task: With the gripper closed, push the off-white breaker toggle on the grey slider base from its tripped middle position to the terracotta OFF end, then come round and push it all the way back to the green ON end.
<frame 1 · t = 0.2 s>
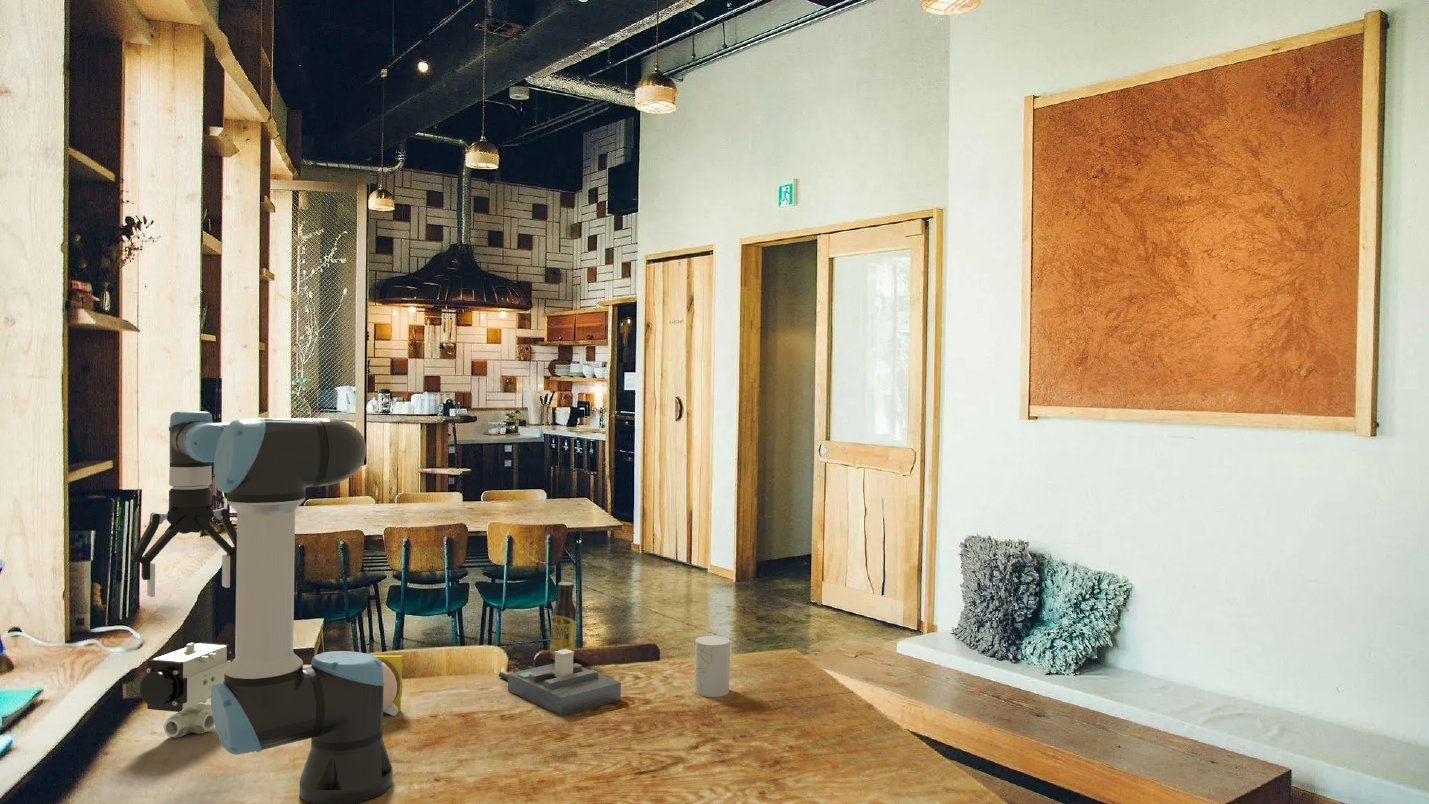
hand: (189, 591, 186), 28 cm above the table, fingers open, 13 cm apart
ball valve: (192, 732, 184), on the table
grey slider base: (563, 695, 210), on the table
white cylinder: (711, 692, 215), on the table
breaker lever: (564, 664, 210), point 7 cm above the table, slide at 0.0 cm
yellow block with disc: (370, 714, 196), on the table
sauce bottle: (562, 659, 238), on the table
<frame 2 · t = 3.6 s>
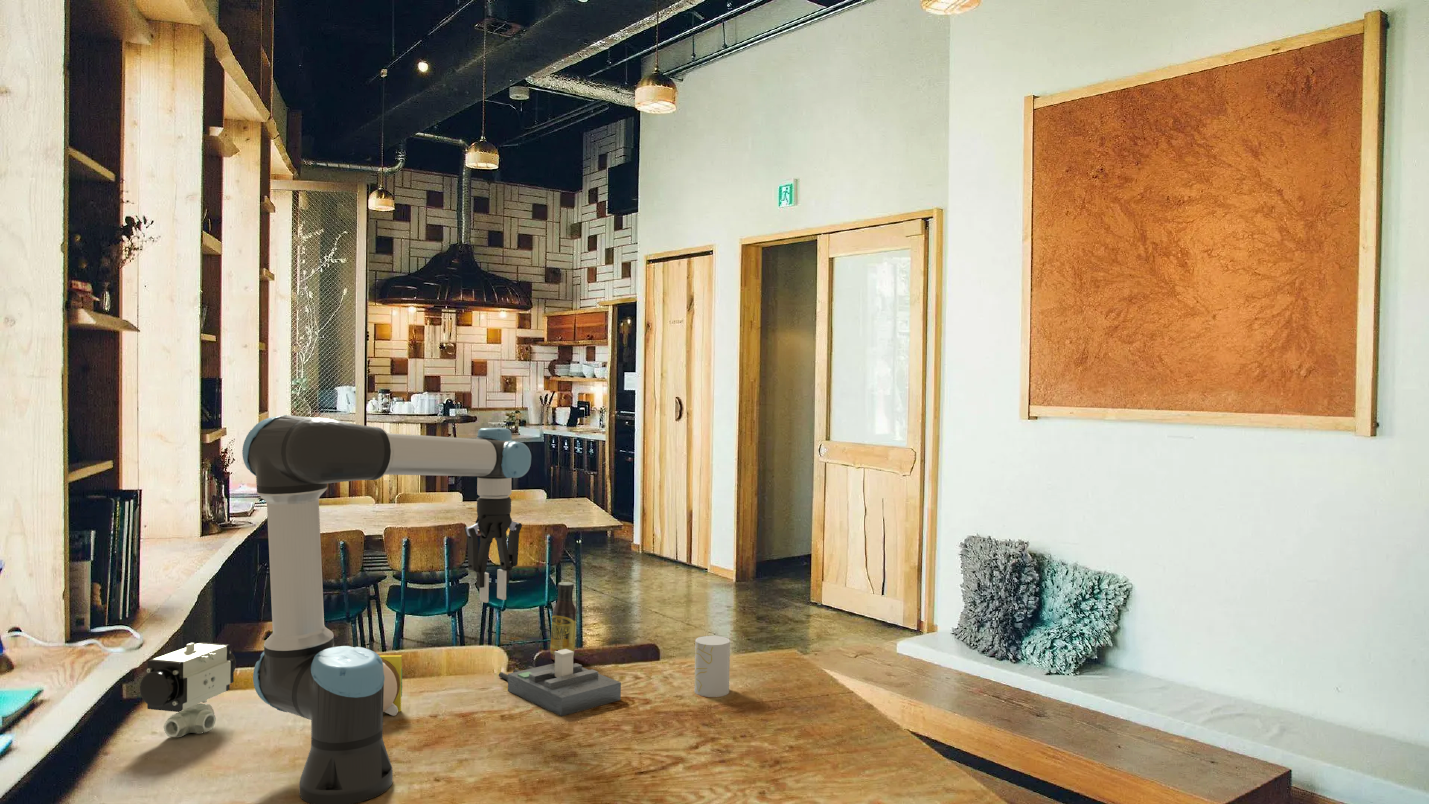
hand: (492, 599, 206), 23 cm above the table, fingers open, 4 cm apart
nothing on the table moved.
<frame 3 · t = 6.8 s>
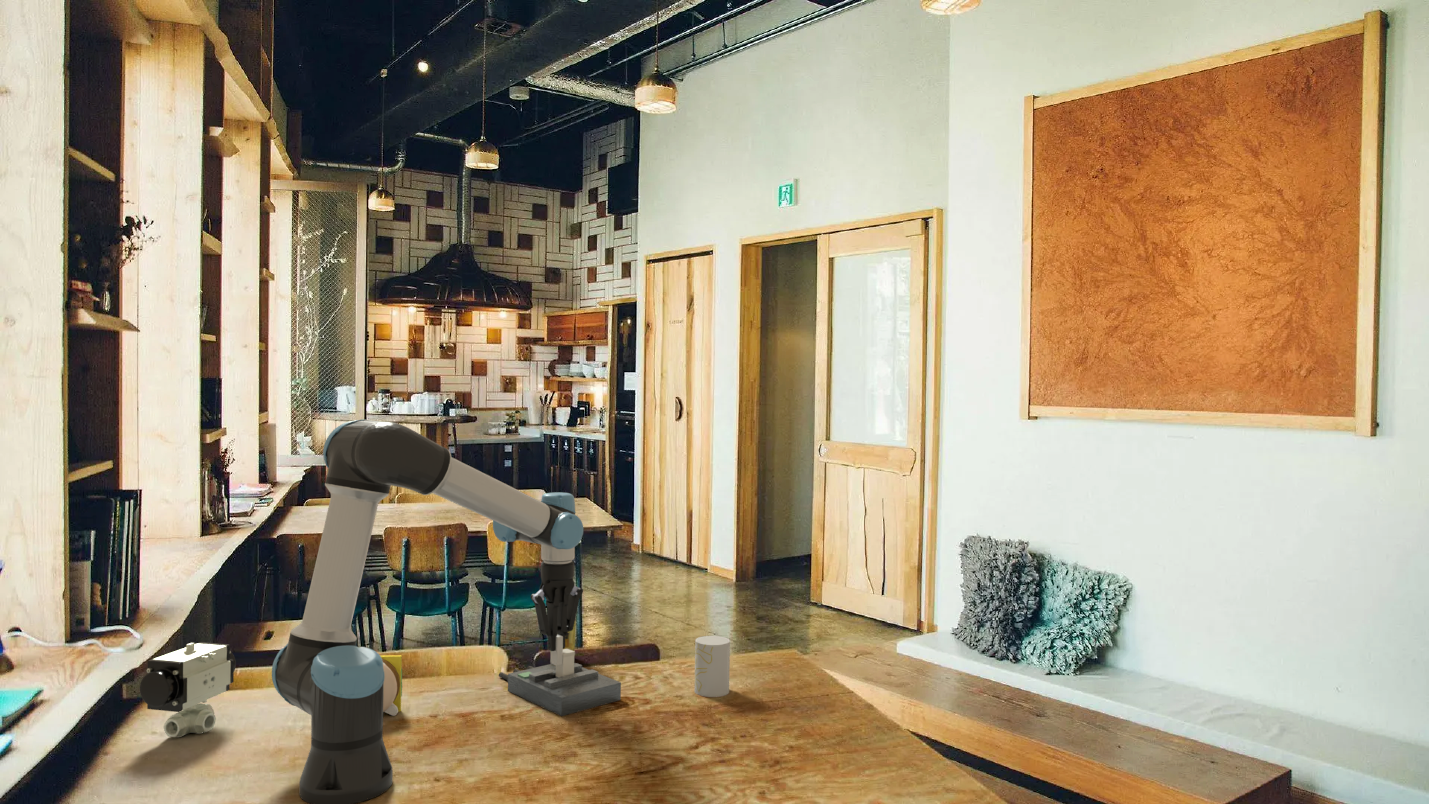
hand: (556, 663, 208), 8 cm above the table, fingers closed
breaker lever: (564, 663, 210), point 7 cm above the table, slide at -0.3 cm, touching gripper
everything else where it was.
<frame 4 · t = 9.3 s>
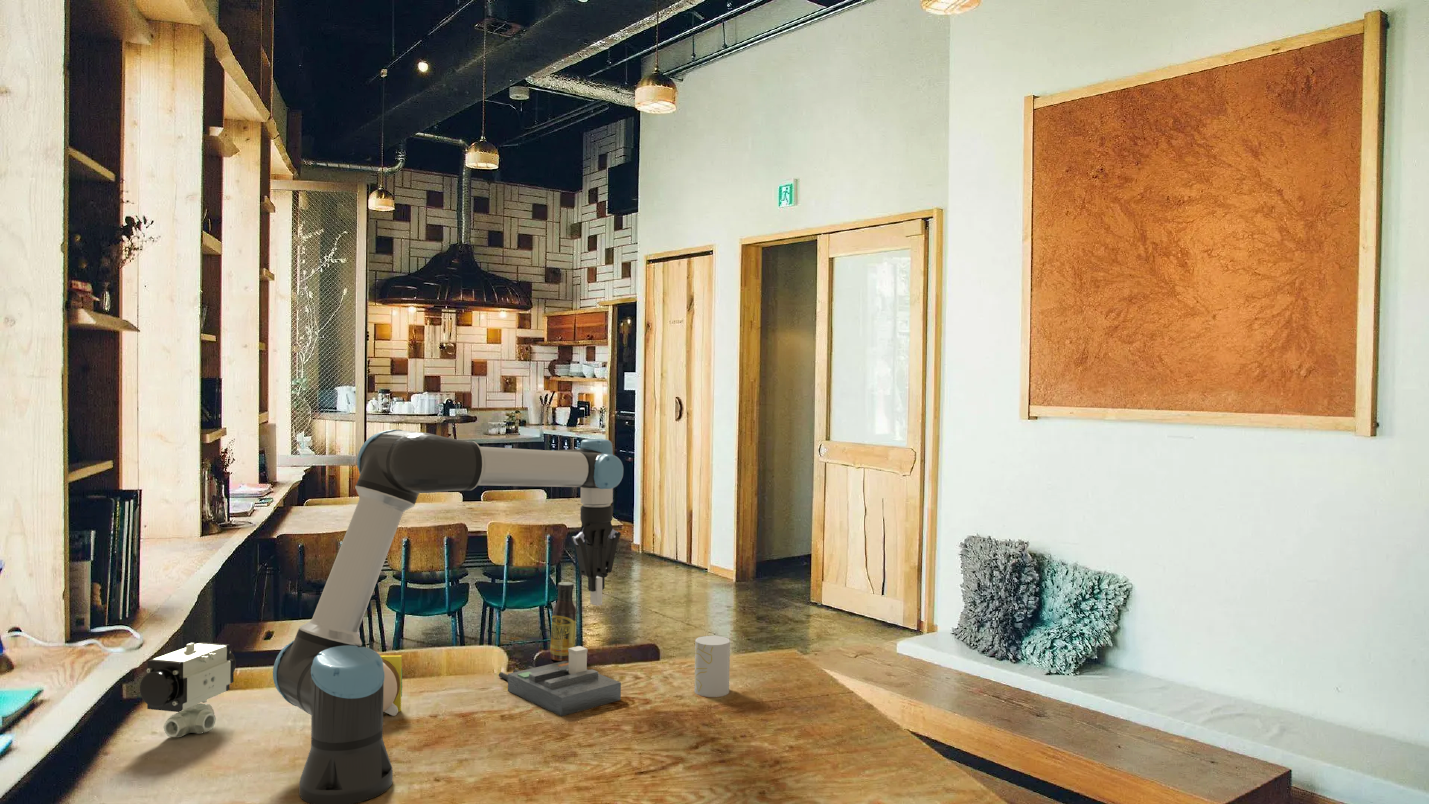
hand: (596, 604, 216), 20 cm above the table, fingers closed
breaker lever: (577, 661, 212), point 7 cm above the table, slide at -3.8 cm
everything else where it was.
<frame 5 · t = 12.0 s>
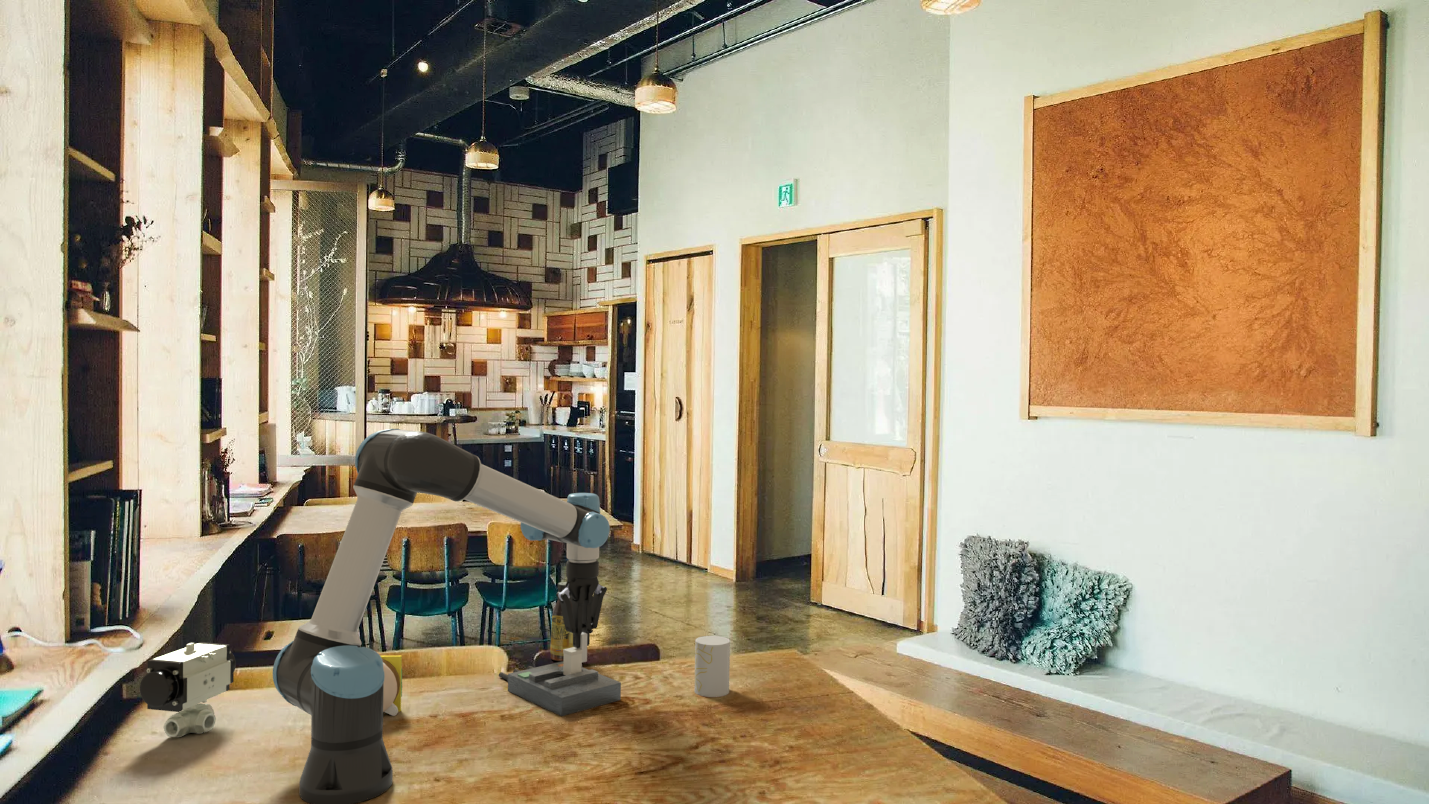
hand: (580, 660, 213), 7 cm above the table, fingers closed
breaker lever: (572, 662, 211), point 7 cm above the table, slide at -2.4 cm, touching gripper
everything else where it was.
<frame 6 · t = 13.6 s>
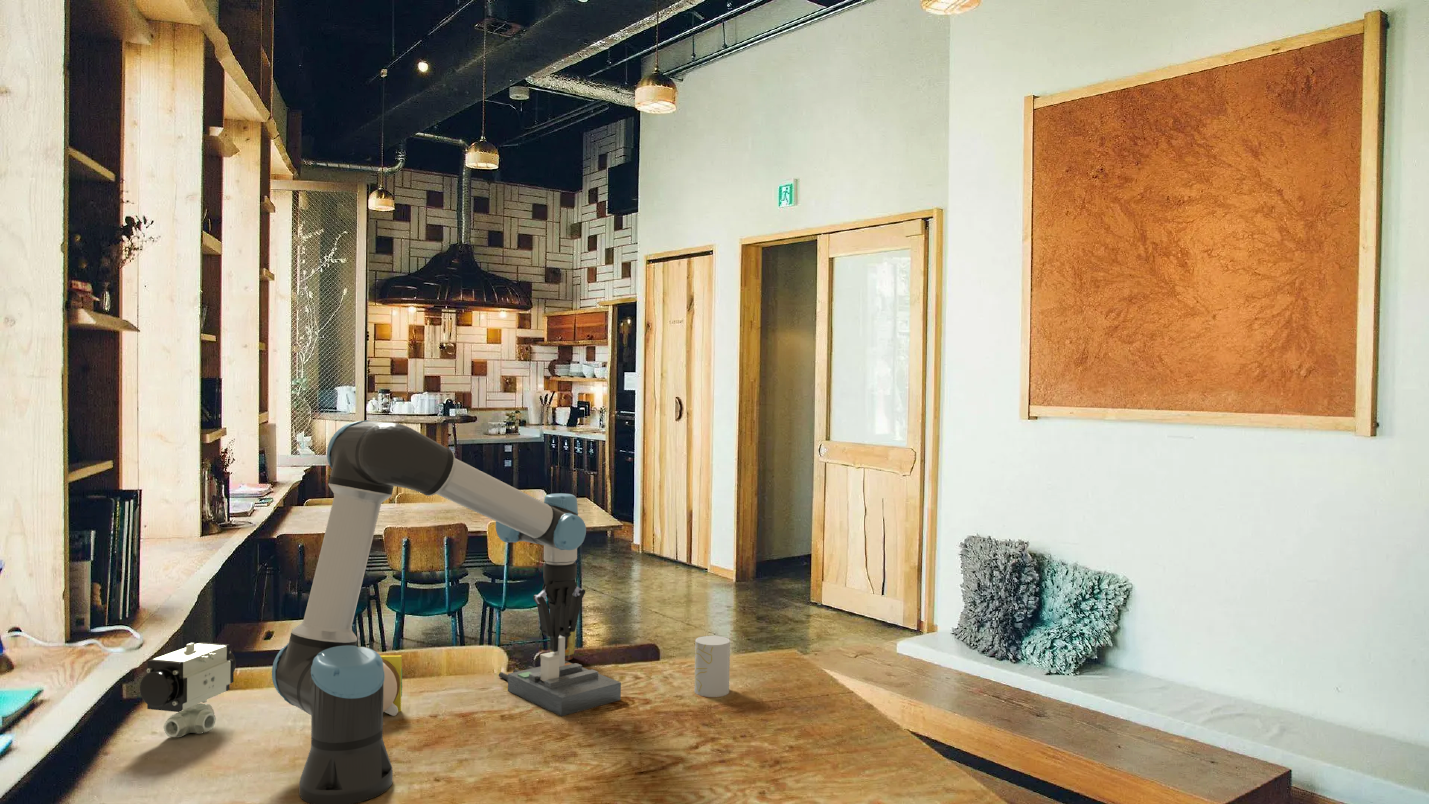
hand: (558, 664, 209), 7 cm above the table, fingers closed
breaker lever: (549, 667, 207), point 7 cm above the table, slide at 3.8 cm, touching gripper
everything else where it was.
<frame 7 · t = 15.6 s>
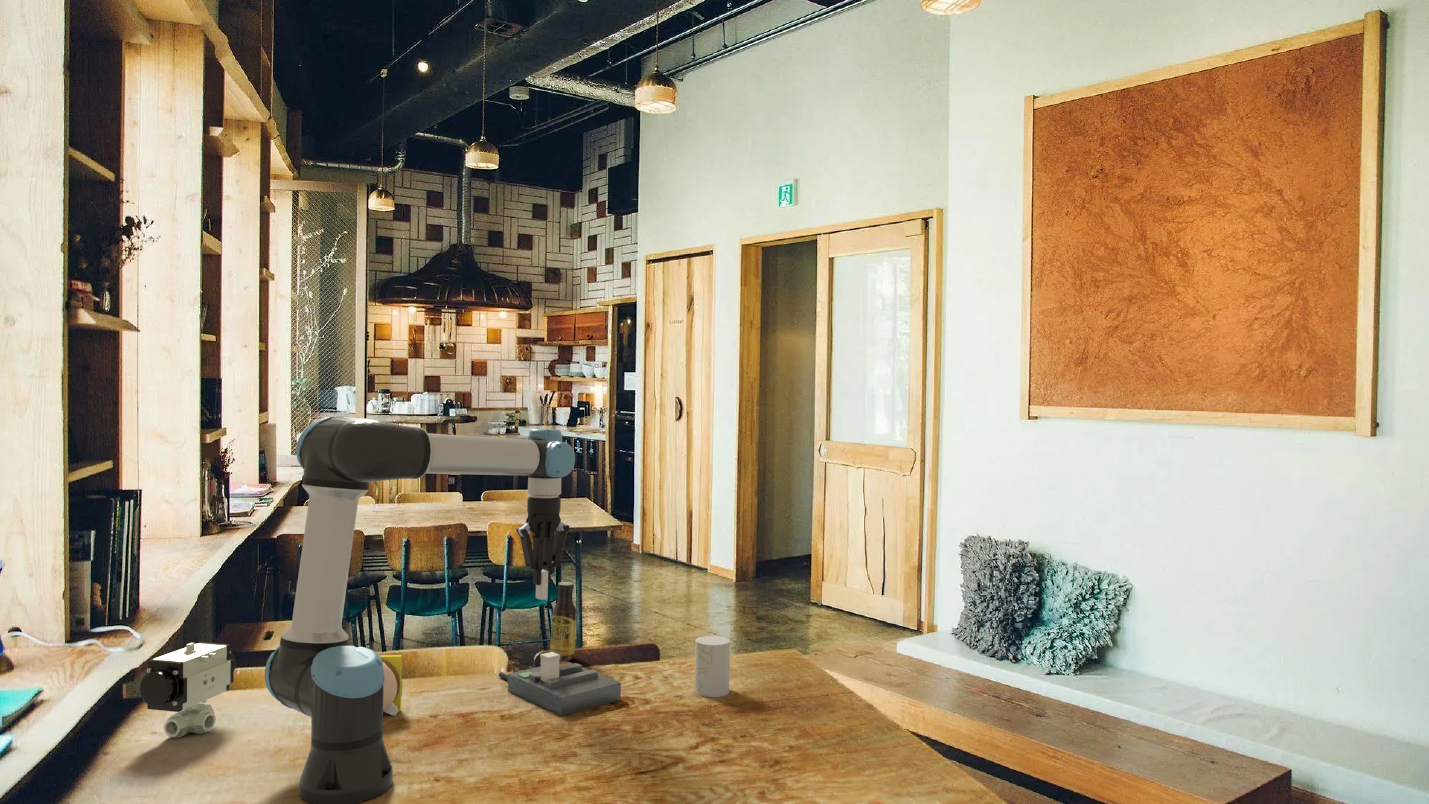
hand: (541, 598, 210), 22 cm above the table, fingers closed
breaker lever: (549, 667, 207), point 7 cm above the table, slide at 3.8 cm
everything else where it was.
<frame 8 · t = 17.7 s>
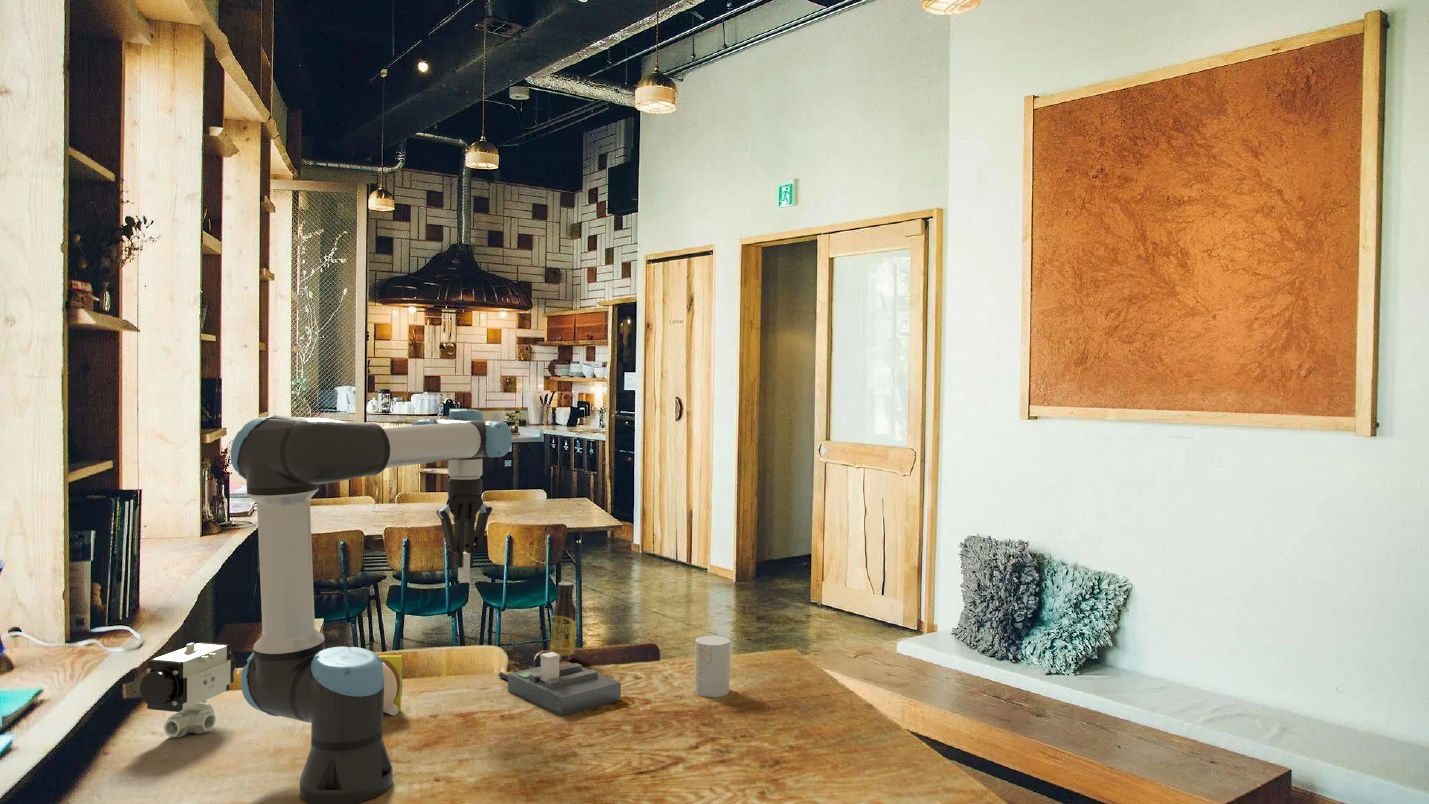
hand: (463, 581, 207), 26 cm above the table, fingers closed
nothing on the table moved.
at the end: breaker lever slide at 3.8 cm; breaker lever touching nothing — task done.
